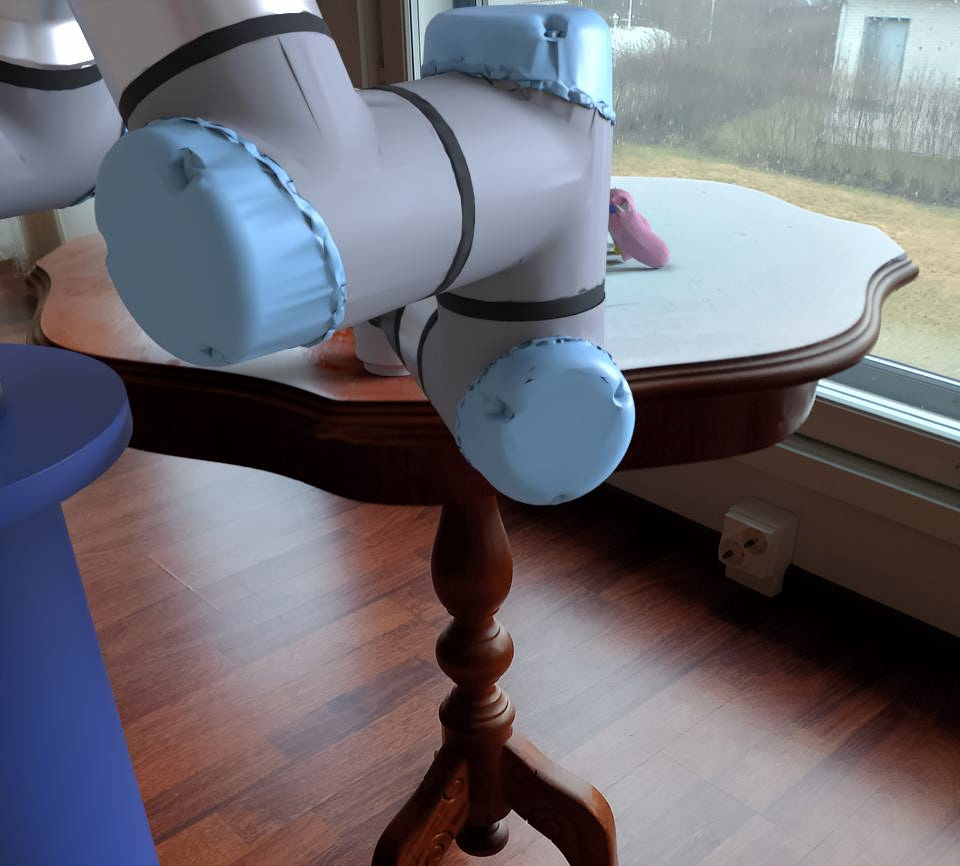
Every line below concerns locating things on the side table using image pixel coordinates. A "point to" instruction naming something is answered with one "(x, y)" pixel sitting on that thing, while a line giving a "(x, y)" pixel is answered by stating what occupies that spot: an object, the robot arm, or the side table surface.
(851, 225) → the side table surface
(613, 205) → the pink toy bird
